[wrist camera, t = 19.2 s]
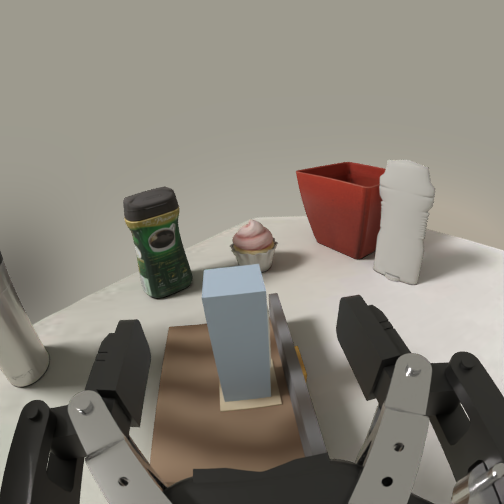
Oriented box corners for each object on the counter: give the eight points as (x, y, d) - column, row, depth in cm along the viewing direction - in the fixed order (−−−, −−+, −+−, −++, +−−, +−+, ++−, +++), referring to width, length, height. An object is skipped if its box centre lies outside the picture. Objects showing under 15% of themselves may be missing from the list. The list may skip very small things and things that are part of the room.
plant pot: (360, 272, 54) (368, 186, 46) (295, 242, 68) (293, 170, 61) (406, 244, 63) (413, 174, 56) (346, 222, 77) (348, 161, 70)
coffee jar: (181, 270, 60) (166, 181, 52) (198, 285, 54) (182, 187, 46) (138, 286, 55) (116, 194, 47) (151, 304, 49) (125, 202, 41)
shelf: (171, 334, 42) (162, 305, 39) (282, 323, 43) (281, 292, 40) (154, 485, 20) (132, 465, 18) (325, 471, 21) (334, 450, 19)
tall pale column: (367, 271, 54) (375, 156, 44) (376, 263, 56) (385, 154, 47) (415, 289, 46) (434, 166, 37) (422, 280, 49) (439, 164, 39)
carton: (224, 401, 29) (201, 297, 22) (223, 372, 33) (204, 269, 26) (272, 396, 29) (268, 290, 23) (267, 367, 33) (261, 263, 27)
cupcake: (233, 256, 64) (229, 212, 59) (277, 254, 63) (275, 209, 59) (229, 279, 55) (223, 229, 51) (279, 277, 55) (278, 226, 50)
